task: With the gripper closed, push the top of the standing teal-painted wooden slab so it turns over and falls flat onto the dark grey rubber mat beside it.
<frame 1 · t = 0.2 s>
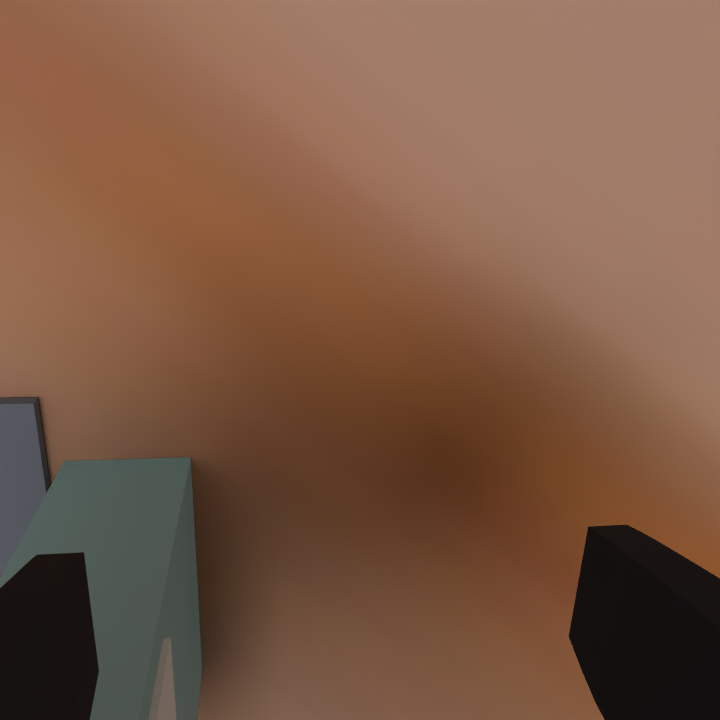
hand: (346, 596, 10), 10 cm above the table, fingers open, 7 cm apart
slab: (138, 573, 21), on the table
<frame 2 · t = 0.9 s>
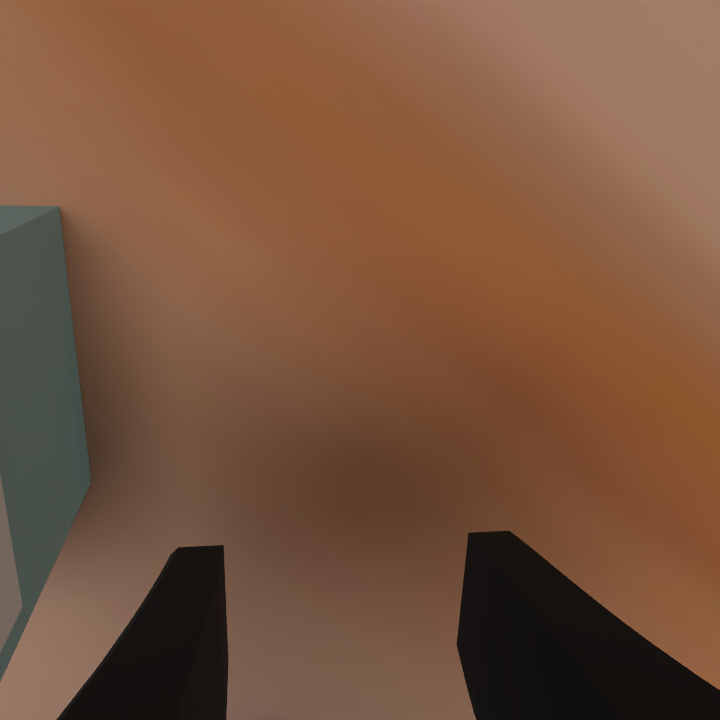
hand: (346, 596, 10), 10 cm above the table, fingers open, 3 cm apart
slab: (8, 355, 18), on the table
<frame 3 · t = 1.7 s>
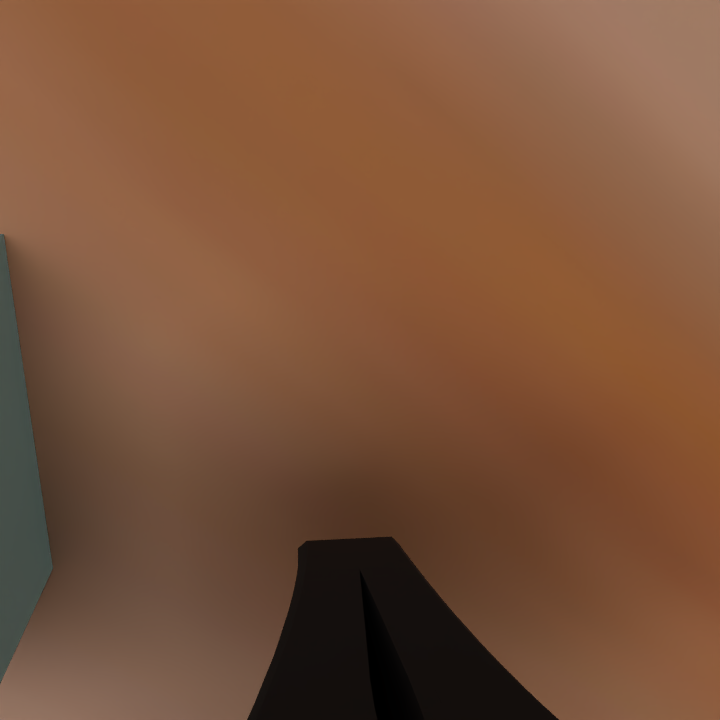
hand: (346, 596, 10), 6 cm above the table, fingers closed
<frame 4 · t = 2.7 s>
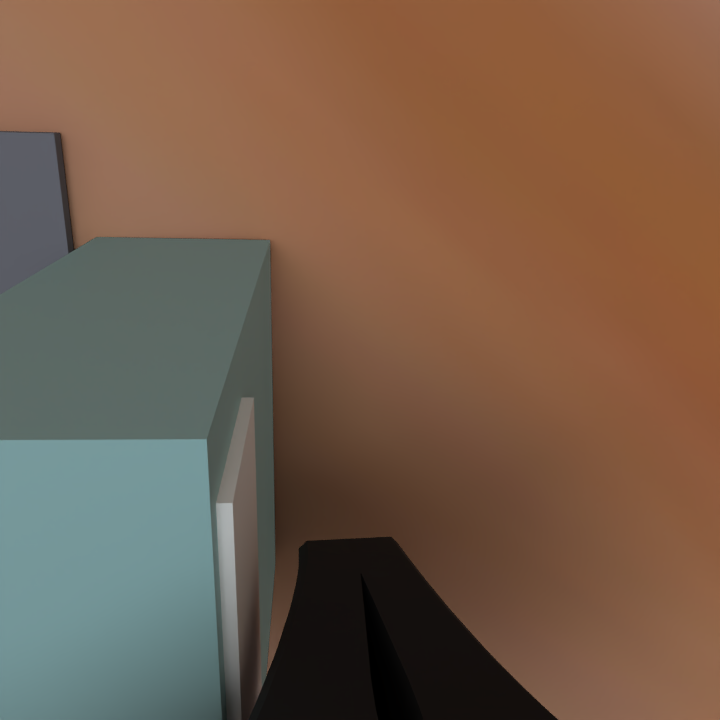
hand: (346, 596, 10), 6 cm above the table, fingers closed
slab: (194, 416, 15), on the table
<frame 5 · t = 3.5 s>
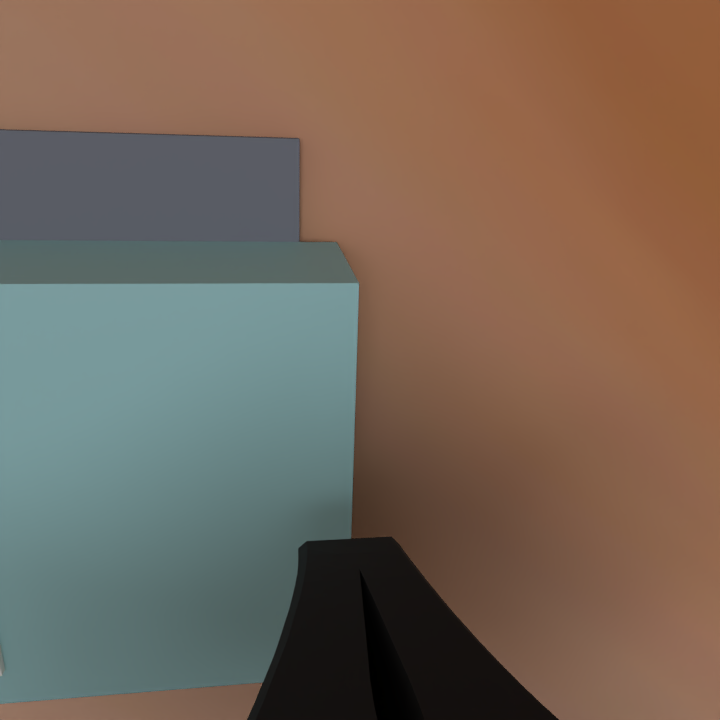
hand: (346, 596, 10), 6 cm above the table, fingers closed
mat: (46, 418, 15), on the table
slab: (341, 455, 14), point 2 cm above the table, tilted 90°, touching mat
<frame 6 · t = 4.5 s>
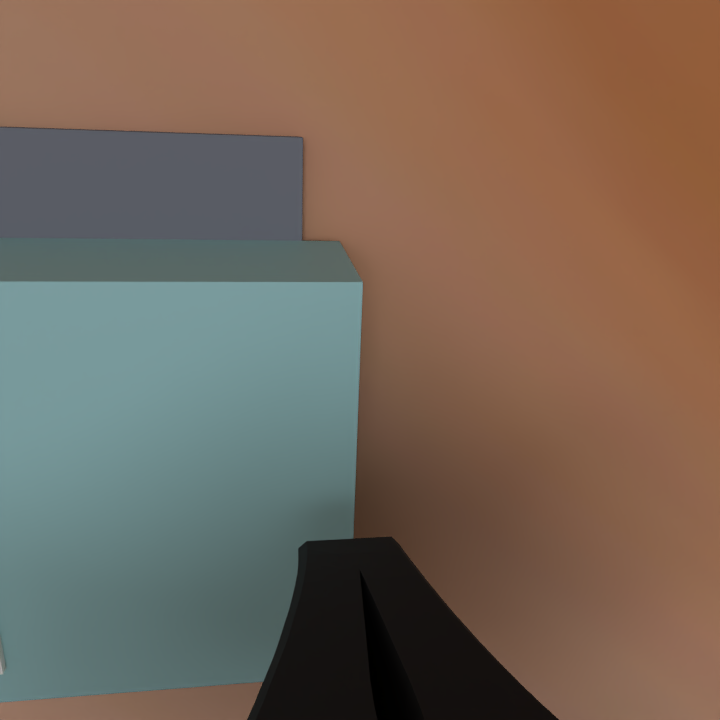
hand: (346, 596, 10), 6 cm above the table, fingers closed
mat: (48, 416, 15), on the table
slab: (343, 454, 14), point 2 cm above the table, tilted 90°, touching mat
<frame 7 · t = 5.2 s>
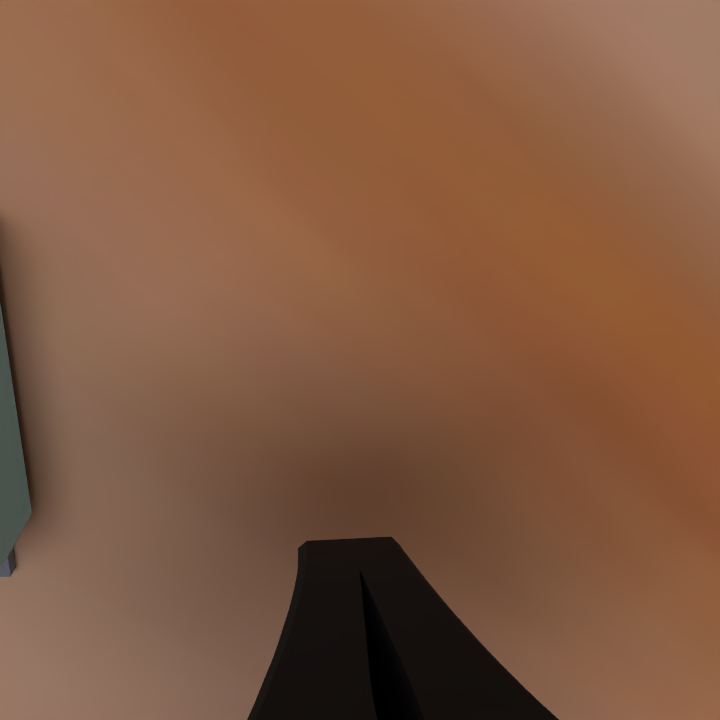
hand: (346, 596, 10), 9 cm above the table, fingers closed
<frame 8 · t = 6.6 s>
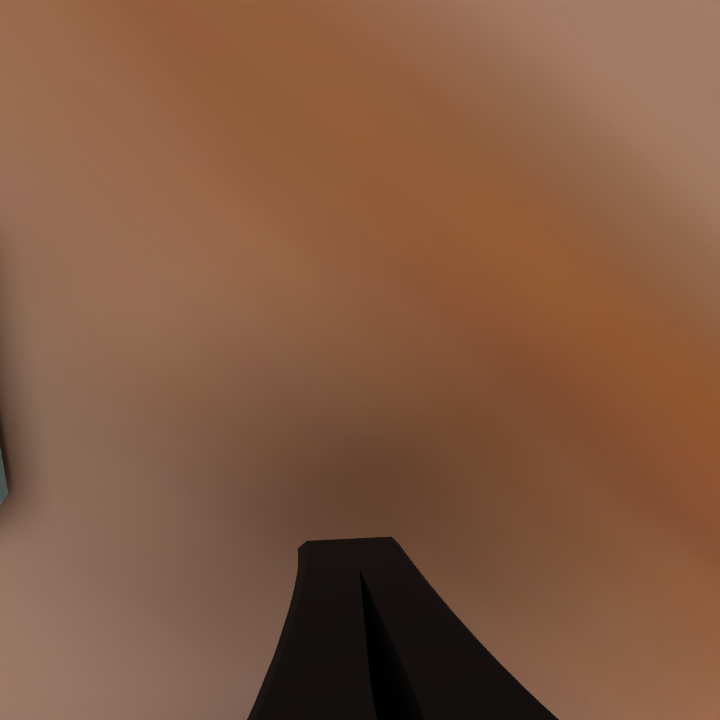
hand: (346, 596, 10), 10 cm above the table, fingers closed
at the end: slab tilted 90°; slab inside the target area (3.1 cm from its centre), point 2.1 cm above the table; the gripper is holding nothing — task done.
